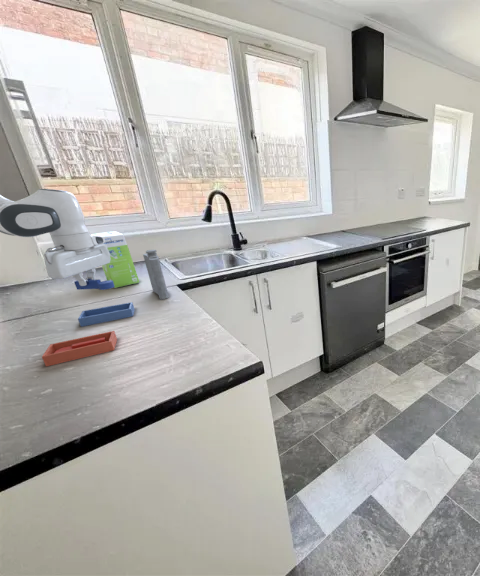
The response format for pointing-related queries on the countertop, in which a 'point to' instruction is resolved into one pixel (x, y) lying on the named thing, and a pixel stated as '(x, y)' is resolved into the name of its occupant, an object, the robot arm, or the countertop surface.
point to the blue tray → (106, 314)
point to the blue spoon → (96, 285)
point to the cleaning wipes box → (118, 260)
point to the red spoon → (81, 344)
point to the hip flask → (155, 274)
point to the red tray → (81, 352)
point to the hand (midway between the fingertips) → (88, 283)
